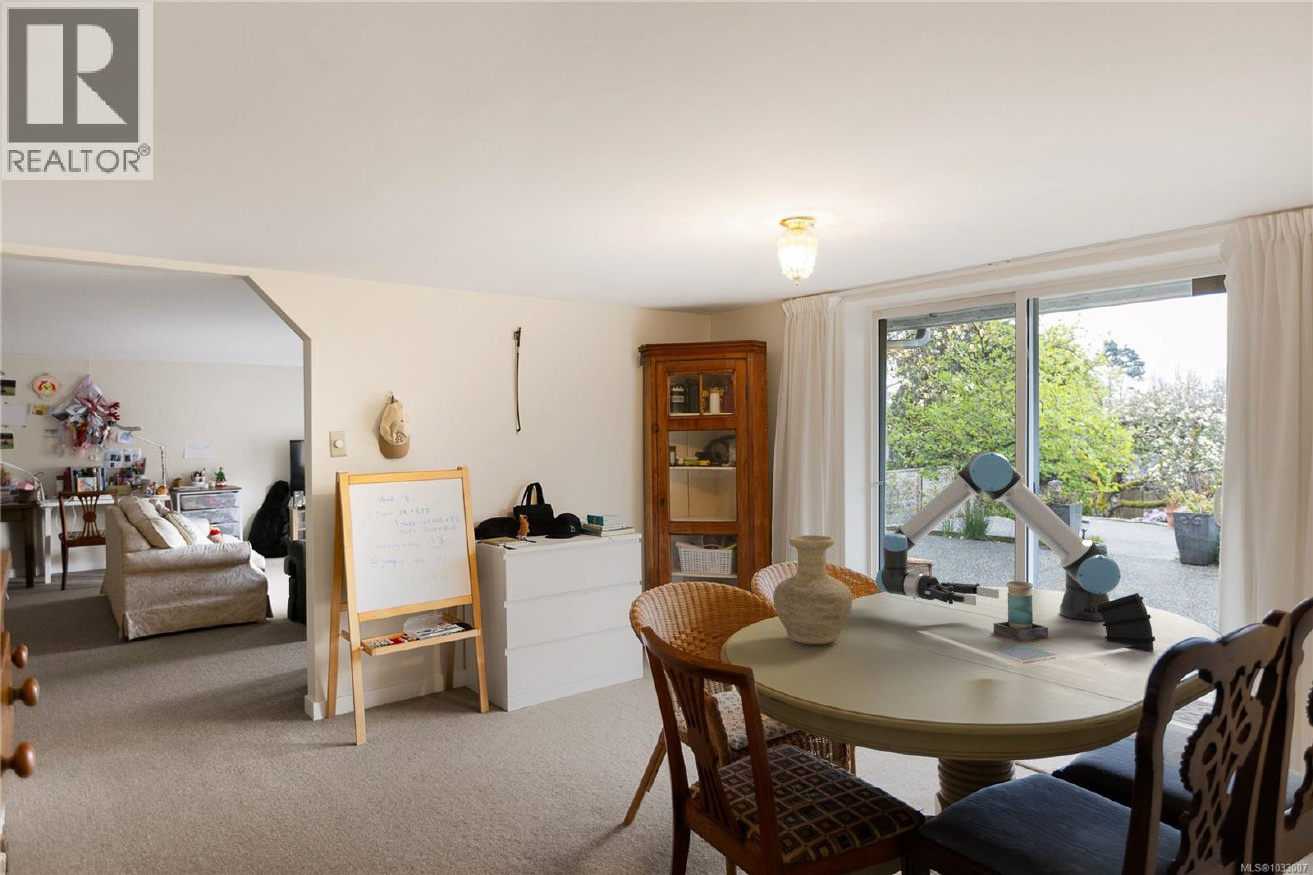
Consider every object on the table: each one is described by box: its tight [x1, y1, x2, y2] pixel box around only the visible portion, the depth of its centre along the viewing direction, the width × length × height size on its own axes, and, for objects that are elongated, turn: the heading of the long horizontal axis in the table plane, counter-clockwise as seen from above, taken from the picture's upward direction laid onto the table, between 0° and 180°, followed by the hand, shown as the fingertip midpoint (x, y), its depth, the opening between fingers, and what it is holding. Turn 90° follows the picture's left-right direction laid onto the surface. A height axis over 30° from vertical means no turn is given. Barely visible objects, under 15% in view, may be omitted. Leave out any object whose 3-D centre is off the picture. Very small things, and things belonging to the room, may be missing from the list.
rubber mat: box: [992, 643, 1057, 664], centre depth 209 cm, size 11×11×1 cm
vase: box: [772, 534, 853, 645], centre depth 226 cm, size 22×22×30 cm
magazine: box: [1097, 592, 1156, 653], centre depth 215 cm, size 4×13×15 cm, turn 40°
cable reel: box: [1006, 580, 1034, 630], centre depth 224 cm, size 7×7×15 cm
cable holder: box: [988, 620, 1054, 644], centre depth 224 cm, size 12×12×4 cm
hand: (987, 597), depth 232 cm, fingers open, 13 cm apart
